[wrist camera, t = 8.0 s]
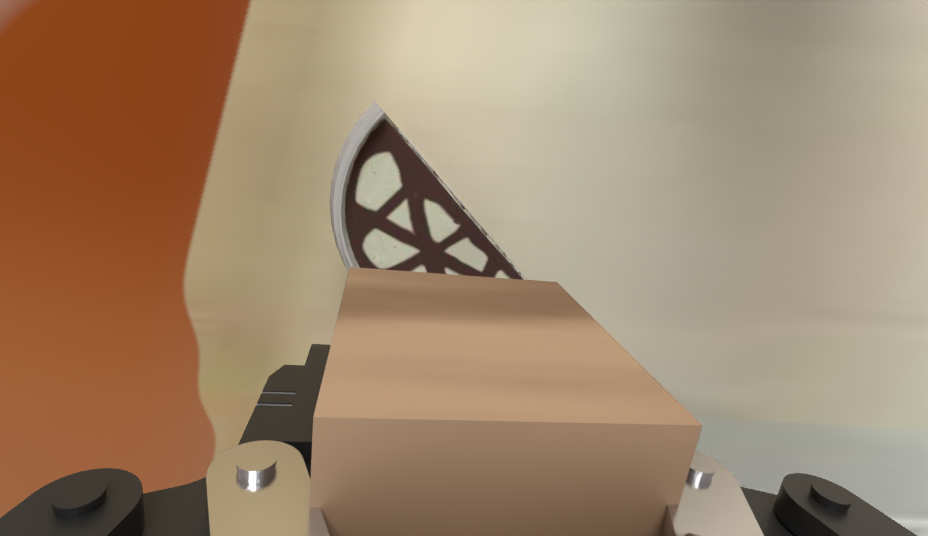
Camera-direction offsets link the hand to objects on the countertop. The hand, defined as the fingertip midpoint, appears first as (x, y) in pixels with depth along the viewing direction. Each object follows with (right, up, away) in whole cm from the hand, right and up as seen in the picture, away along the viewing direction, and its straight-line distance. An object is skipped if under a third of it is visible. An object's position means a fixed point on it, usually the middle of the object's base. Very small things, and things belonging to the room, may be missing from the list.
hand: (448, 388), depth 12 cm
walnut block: (0, 0, +1) cm, 1 cm away
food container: (-3, +6, +19) cm, 20 cm away
